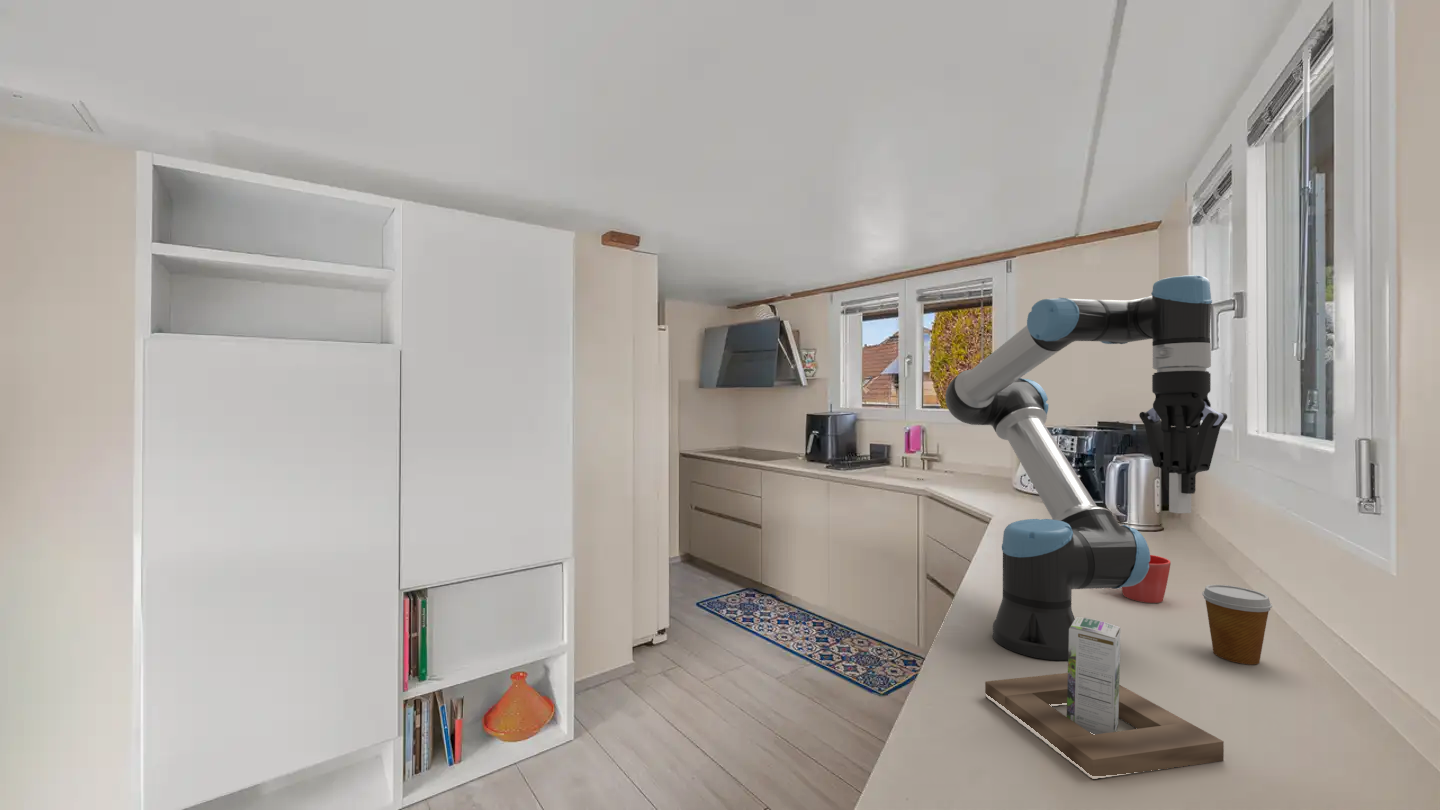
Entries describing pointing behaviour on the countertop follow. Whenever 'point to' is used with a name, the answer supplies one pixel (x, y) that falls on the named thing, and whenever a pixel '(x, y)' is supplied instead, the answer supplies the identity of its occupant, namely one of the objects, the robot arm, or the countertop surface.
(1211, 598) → the disposable coffee cup
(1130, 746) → the wooden square frame
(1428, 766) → the countertop surface
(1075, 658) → the syrup box
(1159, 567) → the flower pot
